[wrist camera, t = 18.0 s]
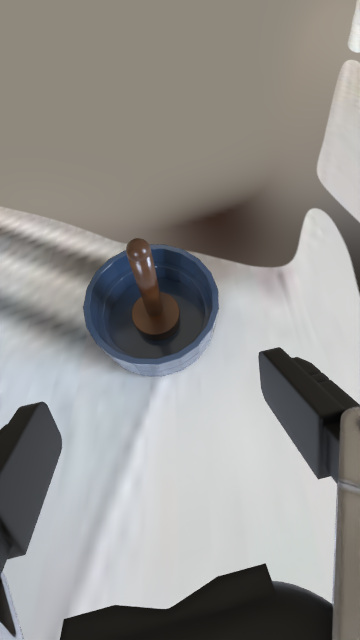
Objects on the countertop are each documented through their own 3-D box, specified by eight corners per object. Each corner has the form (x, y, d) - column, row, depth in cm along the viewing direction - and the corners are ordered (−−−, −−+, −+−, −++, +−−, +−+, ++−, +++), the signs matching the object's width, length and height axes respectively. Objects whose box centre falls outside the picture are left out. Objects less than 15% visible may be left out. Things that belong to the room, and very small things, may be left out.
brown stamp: (133, 340, 30) (93, 274, 18) (137, 299, 32) (104, 214, 20) (179, 341, 30) (172, 275, 18) (180, 299, 32) (174, 214, 20)
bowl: (92, 375, 29) (72, 363, 24) (108, 272, 34) (94, 244, 29) (215, 378, 29) (220, 366, 24) (212, 272, 34) (216, 244, 29)
